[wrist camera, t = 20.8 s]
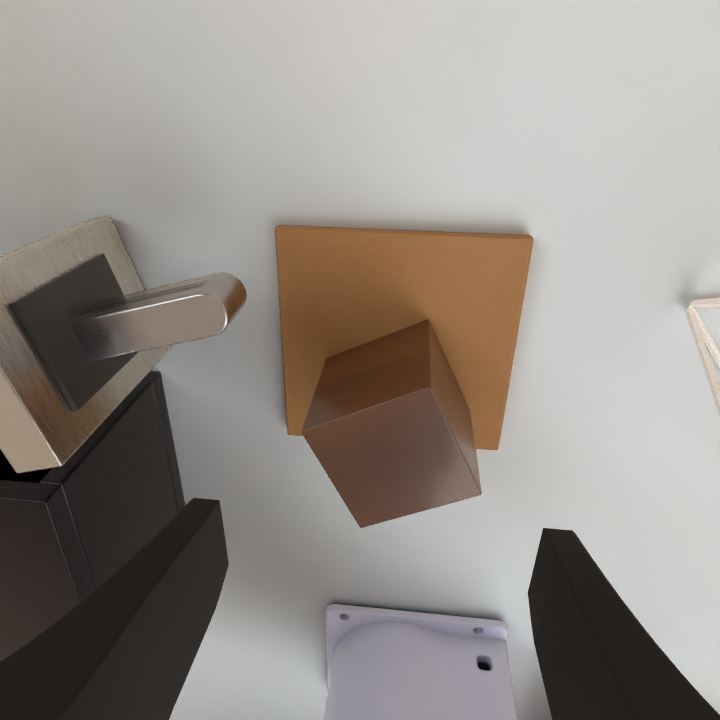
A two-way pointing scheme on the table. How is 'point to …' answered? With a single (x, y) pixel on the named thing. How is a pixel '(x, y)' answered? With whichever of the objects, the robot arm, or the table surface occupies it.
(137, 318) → the grey hollow rectangular piece
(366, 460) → the block
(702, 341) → the geometric polyhedron
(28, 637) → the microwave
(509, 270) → the mat
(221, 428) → the table surface
